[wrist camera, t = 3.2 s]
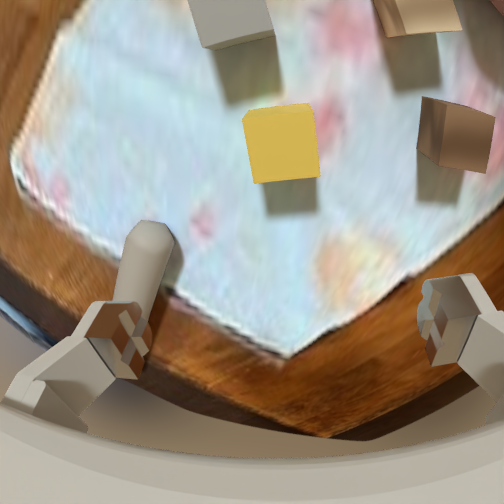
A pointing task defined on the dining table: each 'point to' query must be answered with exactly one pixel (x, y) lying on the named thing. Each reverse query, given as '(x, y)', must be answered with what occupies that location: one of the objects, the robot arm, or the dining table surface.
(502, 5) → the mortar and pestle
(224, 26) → the grey cube
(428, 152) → the walnut cube
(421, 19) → the beech cube
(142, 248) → the tube
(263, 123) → the mustard cube
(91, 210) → the dining table surface
